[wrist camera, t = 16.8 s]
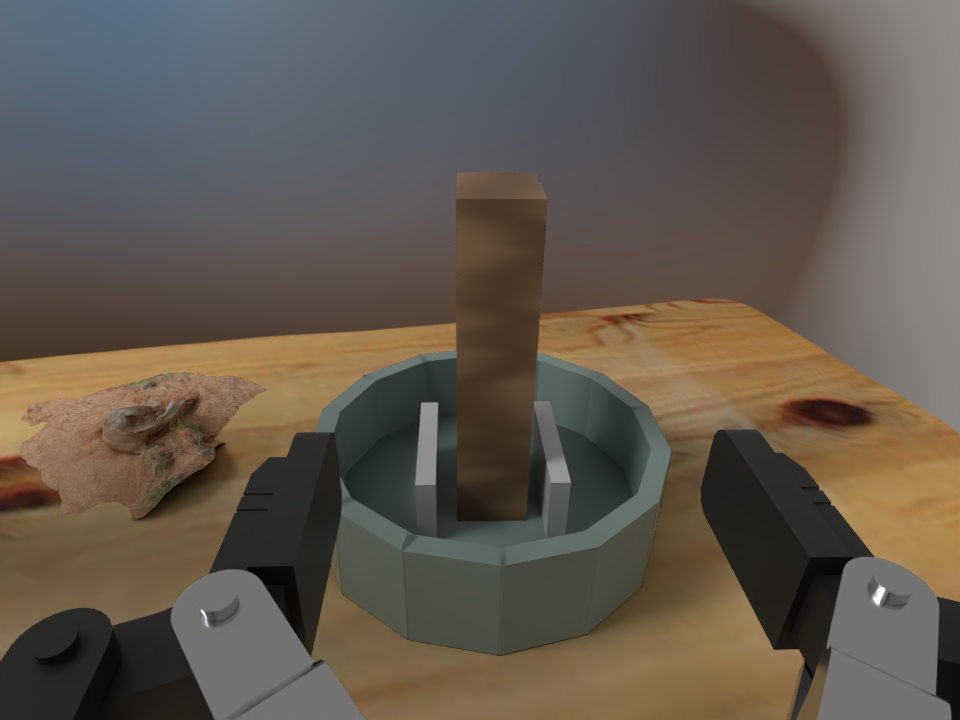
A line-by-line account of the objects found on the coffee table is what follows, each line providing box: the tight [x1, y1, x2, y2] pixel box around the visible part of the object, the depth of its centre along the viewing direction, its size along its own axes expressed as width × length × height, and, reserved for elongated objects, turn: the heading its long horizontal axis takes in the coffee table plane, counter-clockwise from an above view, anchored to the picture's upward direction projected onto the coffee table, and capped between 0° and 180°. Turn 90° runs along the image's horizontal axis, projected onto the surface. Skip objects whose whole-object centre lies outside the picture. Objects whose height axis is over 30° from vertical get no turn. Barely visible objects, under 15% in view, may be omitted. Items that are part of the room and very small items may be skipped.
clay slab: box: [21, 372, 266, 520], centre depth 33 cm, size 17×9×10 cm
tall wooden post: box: [456, 172, 548, 521], centre depth 25 cm, size 3×4×14 cm
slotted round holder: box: [316, 351, 672, 655], centre depth 28 cm, size 15×15×4 cm
